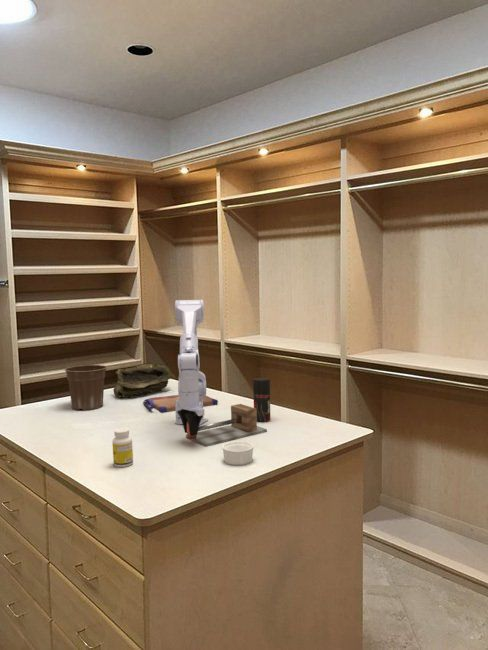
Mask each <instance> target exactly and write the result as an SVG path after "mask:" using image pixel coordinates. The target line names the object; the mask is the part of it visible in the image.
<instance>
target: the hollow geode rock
mask: <svg viewBox="0 0 488 650" xmlns="http://www.w3.org/2000/svg"><path fill="white" fill-rule="evenodd" d="M170 372H172V370H171V369H170V367H168V365H167V364H165V363H153V362H145V363H144V362H143V363H140V364H139V365H136V366H131V367H130V366H129V367H126V368H122V367H119V368H118V369H117V370H116V371H115V374H116V375H117V383H116V384H115V386H114V387H113V394H114V396H115V397H117V398H130V397H132V396H133V395H135V394H137V393H140V394H146V393H147V394H149V393H151V392H160V391H162V390H164V389H165V388H166V387H167V386H168V384H169V380H171V378H172V377H173V376H171V375H170Z"/></svg>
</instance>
